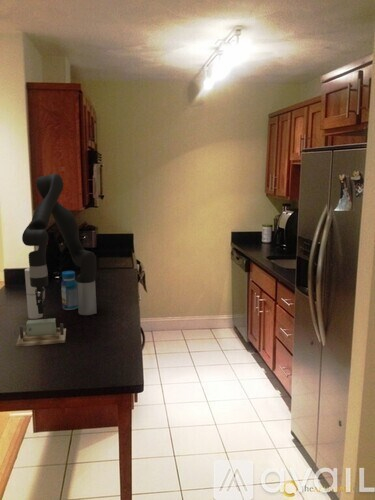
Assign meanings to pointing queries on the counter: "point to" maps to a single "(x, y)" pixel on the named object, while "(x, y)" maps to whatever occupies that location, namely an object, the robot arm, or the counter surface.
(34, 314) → the cylindrical container
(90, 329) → the counter surface
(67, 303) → the blue pill bottle
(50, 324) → the rectangular block
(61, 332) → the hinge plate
